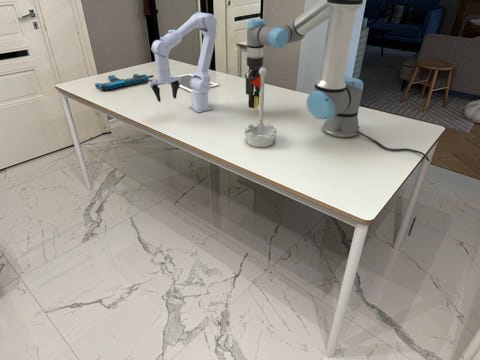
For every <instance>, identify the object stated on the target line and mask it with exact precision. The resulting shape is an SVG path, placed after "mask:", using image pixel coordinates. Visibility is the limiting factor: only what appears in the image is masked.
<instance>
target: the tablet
mask: <svg viewBox="0 0 480 360" xmlns="http://www.w3.org/2000/svg"><path fill="white" fill-rule="evenodd" d="M192 76H193V73H186V74H181V75H180V74H179V75H176V76H175V77H180V80H181V82H178V83H180V86H179V88H180V89H182V90H184V91H187V92H189V93H191V92H192V91H193V90H192V88H191V87H190V79H191V78H192ZM218 86H220V84H219V83H216V82H214V81H211V80H210V89H211V88H214V87H218Z"/></svg>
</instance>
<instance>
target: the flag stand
mask: <svg viewBox="0 0 480 360" xmlns="http://www.w3.org/2000/svg"><path fill="white" fill-rule="evenodd" d="M267 73H268V71H267V69H266V68H265V67H261V68H260V70H259V74H260V75H261V76H260V77H258V78H256V79H255V80H253V81H252V82H250V83H251V84H253V85H254V87H255V86H258V87H260V96H259V115H258V122H256V125H254V124H253V123H250V124H248V125H247V127H245V128H244V137H246V138H247V139H246V141H247V143H248V145H250V146H253V147H255V148H256V147H257V148H267V147H269V146H272V145H273V144H274V142H275V140H274V139H276V138H277V132H278V131H277V130H278V129H277V127H274V124H271V123H268V124H267V125H264V102H265V81H266V80H265V79H266V78H265V77H266V75H267Z"/></svg>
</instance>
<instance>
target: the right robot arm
mask: <svg viewBox="0 0 480 360" xmlns="http://www.w3.org/2000/svg"><path fill="white" fill-rule="evenodd" d="M363 3H364V0H318V1H316V2H315V3H314V4H313V5H311V6H310V7H309V8H307V9H306V10H305V11H304V12H303V13H301V14H300V15H299V16H297V17H296V18H295V19H294V20H292V21H291V22H290V23H287V24H281V25H277V26H269V25H266V22H265V19H263V18H250V19H248V20H247V24H246V56H247V57H246V66H247V67H248V70H247V71H248V72H247V73H245V74H244V78H245V95H246V96H248V108H250V109H255V108H254V96H257V97H259V98H260V87H258V86H255V85H253V84H251V83H250V82H252V81H253V80H255V79H256V78H258V77H260V76H261V75H260V74H259V70H260V68H262V67H263V66H264V55H265V52H264V50H265V46H268V47H272V48H274V49H276V48H277V49H281V48H284V47H285V46H286V45H287V44H292V43H297V42H299V41H302V40H304V38H305V37H306V35H307V34H308V33H310V32H311V31H312V30H314V29H316V28H317V27H318V26H320V25H321V24H323V23H324V22H326V21H327V20H328V23H327V28H326V36H325V43H324V49H323V55H322V61H321V62H322V63H321V67H320V68H321V69H320V74H319V75H320V76H319V78H318V79H316V80H315V81H314V87H313V91H311V92H310V93H309V95H308V96H307V98H306V107H307V109H308V111H309V112H310V115H311V116H313V117H314V118H316V119H317V120H319V121H320V120H321V121H323V120H325V121H324V123H323V126H322V130H323V132H324V133H325V134H326V135H329V136H332V137H335V138H339V139H341V138H342V139H349V138H354V137H356V136H357V135H360V136H363V137H364V138H367V139H369V140H370V141H372V142H374V143H375V144H376V145H378V146H379V147H381V148H382V149H384V150H387V151H393V152H395V151H396V152H397V151H399V152H400V151H410V152H413V153H417V154H420V155H422V156H423V157H424V158H425V159H426V161H427V162H431V161H430V158H429V157H428V155H426V154H425V153H424V152H422V151H420V150H416V149H412V148H390V147H386V146H385V145H383V144H382V143H380V142H379V141H377V140H375V139H374V138H372V137H370V136H368V135H367V134H365V133H362V132H361V131H360V125H359V118H358V117H359V116H358V114H359V111H360V110H359V109H360V105H361V100H362V95H363V91H364V82H363V80H362V79H359V78H355V77H351V76H345V71H346V66H347V61H348V56H349V50H350V45H351V40H352V36H353V29H354V25H355V19H356V14H357V10H358V9H359V8H360V7H361V6H362V5H363ZM416 220H417V217H414V218H413V220H412V223H411V225H410V228H409V230H408V234H407V237H410V236H411V232H412V230H413V227H414V224H415V222H416Z"/></svg>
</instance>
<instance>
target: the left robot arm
mask: <svg viewBox="0 0 480 360" xmlns="http://www.w3.org/2000/svg"><path fill="white" fill-rule="evenodd" d="M217 24H218V20H217V18H216V17H215V15H214V14H212V13H206V12H201V11H197V12H195V13H194V14H192V15H191V16H190V18H189V19H188V20H186V21H185V22H184V23H182V25H181V26H179V28H177V29H169V30H168V31H167V33H166V34H165V35H164V36H160V38H159V39H155V40H154V41H153V42H152V44H151V47H150V50H151V52H152V53H153V55H154V61H155V69H156V75H157V79H154V80H151V81H148V82H147V83H148V87H149V88H151V90H152V91H153V93H154V95H155V97H156V100H157V102H159V103H161V102H162V101H161V88H160V87H159V86H163V85H167V84H170V87H171V93H172V94H171V95H172V98H173V99H177V96H178V91H179V88H180V87H179V86H180V83H178V82H181V80H180V77H176V76H171V67H170V58H169V56H170V53H171V50H172V49H173V48H175V47H176V46H177V45H178V44H180V43H181V42H182V38H183V37H184V36H186V35H187V34H189V33H190V32H192V31H193V30H195V29H198V30H199V31H200V32H201V34H202V36H203V39H202V46H201V49H200V53H199V58H198V62H197V68H196V70H195V71H194V72H193V73H192V74H193V76H192V78H191V79H190V87H191V88H192V90H193V91H192V92H190V106H189V108H191V109H192V110H193V111H195V112H196V113H202V112H206V111H210V110H213V107H211V106H210V105H209V91H210V89H211V88H210V81H211V76H210V74H209V71H210V66H211V62H212V58H213V52H214V49H215V43H216V41H217V40H216V39H217Z"/></svg>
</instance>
